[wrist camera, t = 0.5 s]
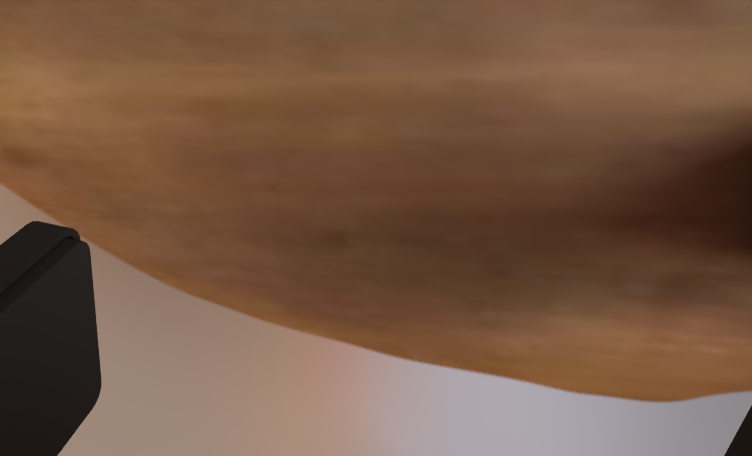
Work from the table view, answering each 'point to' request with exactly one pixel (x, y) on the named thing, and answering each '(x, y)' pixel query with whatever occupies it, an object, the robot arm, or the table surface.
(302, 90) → the table surface
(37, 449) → the robot arm
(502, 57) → the table surface
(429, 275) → the table surface
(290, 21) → the table surface
